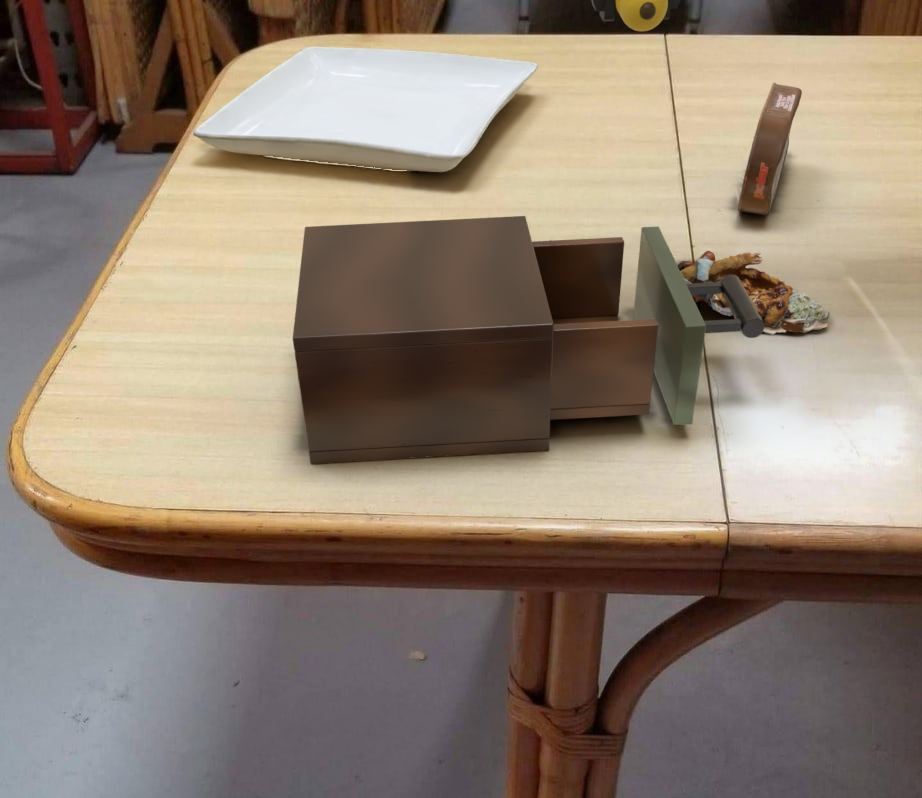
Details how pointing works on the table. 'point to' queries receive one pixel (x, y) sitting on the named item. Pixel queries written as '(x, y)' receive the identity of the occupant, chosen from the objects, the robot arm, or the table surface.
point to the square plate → (369, 108)
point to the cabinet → (422, 340)
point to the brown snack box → (769, 150)
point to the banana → (642, 13)
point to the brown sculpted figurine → (757, 293)
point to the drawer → (629, 327)
